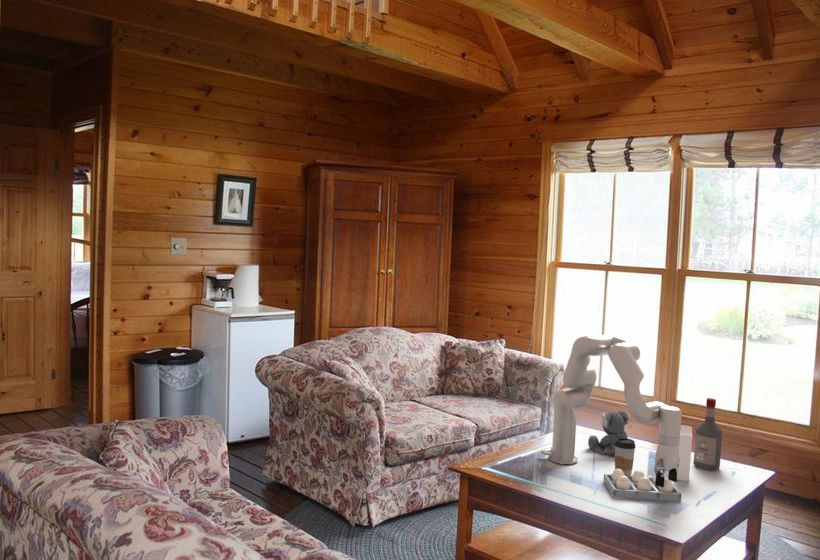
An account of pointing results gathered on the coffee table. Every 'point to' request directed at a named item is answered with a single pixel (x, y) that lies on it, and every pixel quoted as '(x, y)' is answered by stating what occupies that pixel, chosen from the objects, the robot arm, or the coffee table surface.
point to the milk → (684, 453)
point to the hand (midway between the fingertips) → (666, 483)
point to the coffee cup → (624, 455)
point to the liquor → (708, 441)
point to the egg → (666, 486)
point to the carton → (638, 487)
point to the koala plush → (610, 432)
